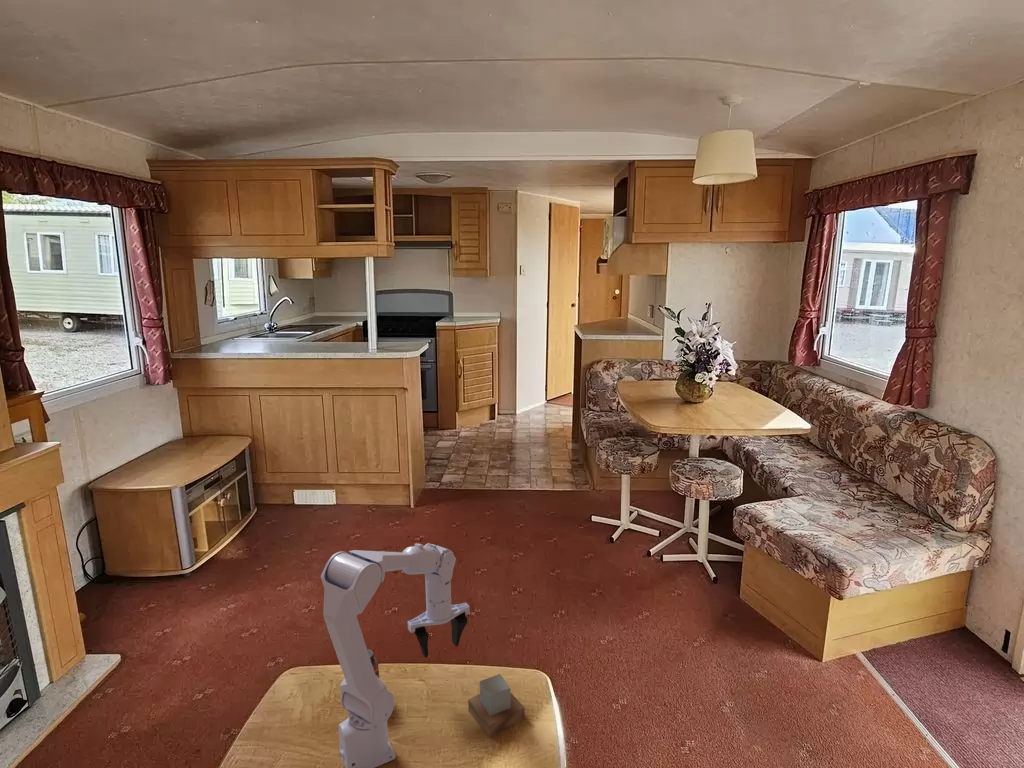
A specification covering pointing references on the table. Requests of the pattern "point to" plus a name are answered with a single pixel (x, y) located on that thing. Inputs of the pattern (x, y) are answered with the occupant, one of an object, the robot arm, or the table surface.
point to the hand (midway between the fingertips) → (440, 649)
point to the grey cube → (495, 694)
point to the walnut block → (496, 715)
